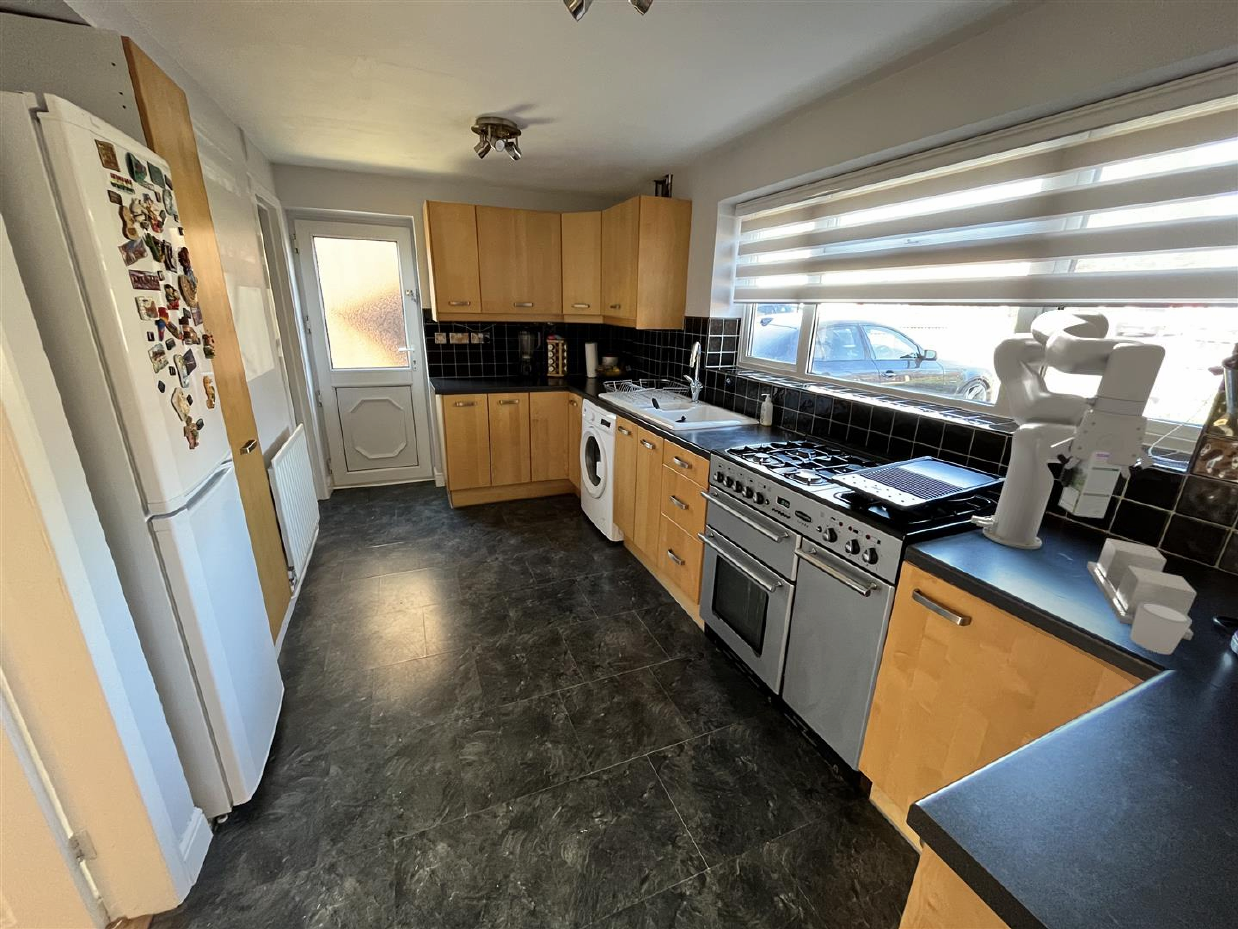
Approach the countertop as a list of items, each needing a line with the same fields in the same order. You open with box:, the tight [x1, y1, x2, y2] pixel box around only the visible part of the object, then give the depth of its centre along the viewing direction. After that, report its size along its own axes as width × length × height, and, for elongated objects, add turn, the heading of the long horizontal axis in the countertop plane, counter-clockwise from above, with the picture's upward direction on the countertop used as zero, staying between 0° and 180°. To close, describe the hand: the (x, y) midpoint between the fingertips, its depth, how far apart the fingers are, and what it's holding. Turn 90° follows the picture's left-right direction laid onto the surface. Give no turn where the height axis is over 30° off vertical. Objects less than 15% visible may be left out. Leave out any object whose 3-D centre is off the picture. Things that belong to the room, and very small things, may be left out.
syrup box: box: [1057, 450, 1122, 519], centre depth 105 cm, size 6×6×14 cm
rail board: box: [1086, 537, 1197, 641], centre depth 106 cm, size 10×26×9 cm, turn 149°
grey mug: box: [1129, 602, 1193, 655], centre depth 91 cm, size 7×7×7 cm
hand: (1087, 488), depth 106 cm, fingers closed on syrup box, 7 cm apart
